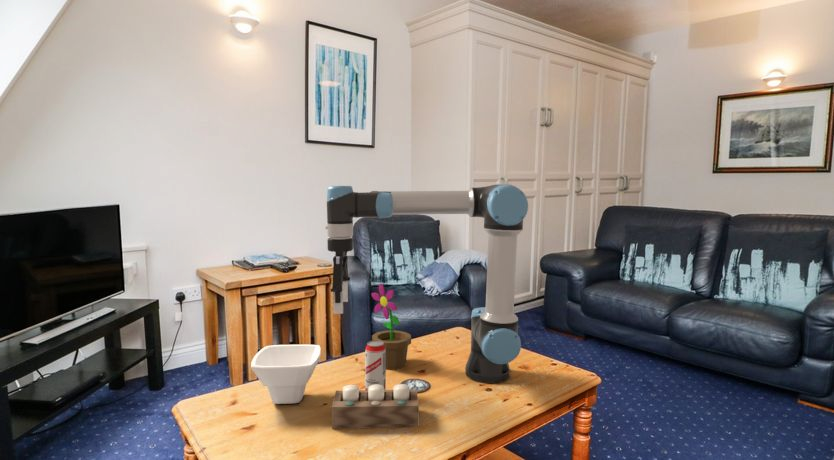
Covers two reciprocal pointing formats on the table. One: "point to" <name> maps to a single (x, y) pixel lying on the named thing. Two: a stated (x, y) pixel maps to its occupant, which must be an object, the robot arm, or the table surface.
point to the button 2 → (401, 392)
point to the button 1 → (351, 393)
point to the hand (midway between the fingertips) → (341, 307)
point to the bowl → (286, 370)
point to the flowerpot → (391, 332)
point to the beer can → (375, 364)
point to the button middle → (376, 392)
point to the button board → (375, 411)
